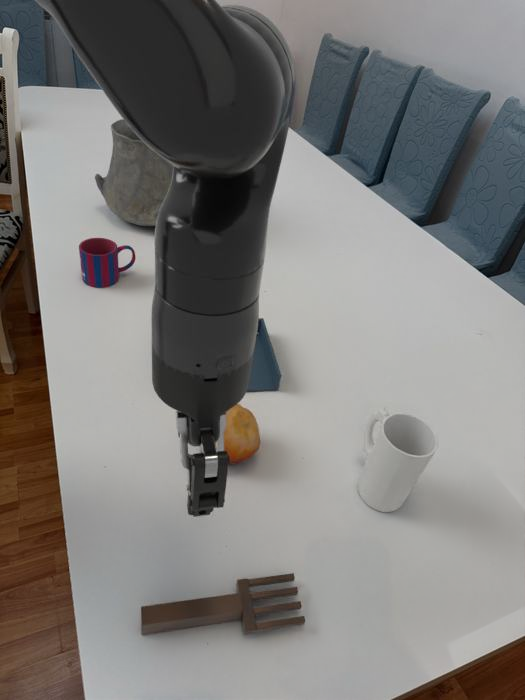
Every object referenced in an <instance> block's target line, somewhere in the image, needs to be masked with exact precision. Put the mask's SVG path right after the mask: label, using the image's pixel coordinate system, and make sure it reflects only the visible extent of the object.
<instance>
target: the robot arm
mask: <svg viewBox="0 0 525 700" xmlns="http://www.w3.org/2000/svg"><path fill="white" fill-rule="evenodd" d="M34 1H35V2H36V3H37V4H38V5H39V6H40V7H41V8H42V9H44V10H45V11H46V12H47V13H48V14H49V15H50V16H51V17H52V18H53V19H54V20H55V22H56V23H57V25H58V26H59V28H60V29H61V32H62V33H63V34H64V36H65V38H66V39H67V41H68V42H69V44H70V46H71V48H72V49H73V51H74V52H75V54H76V55H77V57H78V58H79V60H80V61H81V62H82V64H83V65H84V67H85V68H86V69H87V71H88V72H89V74H90V75H91V76H92V78H93V80H94V81H95V82H96V84H97V85H98V86H99V88H100V89H101V91H102V92H103V93H104V95H105V96H106V98H107V99H108V100H109V102H110V103H111V105H112V106H113V107H114V109H115V111H117V113H118V114H119V115H120V117H121V119H124V120H125V122H126V123H127V124H128V126H129V127H130V128H131V129H132V130H133V131H134V132H135V134H136V135H137V136H138V137H139V138H140V139H141V140H142V141H143V142H144V143H145V144H146V145H147V146H148V147H149V148H150V149H152V150H153V151H154V152H155V153H156V154H158V155H159V156H160V157H161V158H163V159H164V160H166V161H167V162H168V163H170V164H171V165H173V174H172V180H171V184H170V187H169V190H168V192H167V194H166V196H165V198H164V200H163V202H162V204H161V207H160V209H159V212H158V216H157V221H156V226H154V227H155V228H154V290H153V296H152V302H151V317H150V318H151V319H150V321H151V322H150V323H151V324H150V325H151V327H150V328H151V382H152V387H153V390H154V392H155V394H156V395H157V396H158V398H159V399H160V400H161V401H162V402H163V403H164V404H165V405H167V406H168V407H170V408H171V409H172V410H175V426H176V430H177V435H178V438H179V448H180V449H179V452H180V462H181V465H182V467H183V468H184V469H185V470H186V472H187V484H186V492H187V501H186V508H187V514H188V515H189V516H192V517H193V518H195V517H196V518H197V517H203V516H210V515H211V513H212V512H214V509H215V508H216V509H219V508H220V509H221V508H224V507H225V506H224V505H225V502H226V499H225V496H226V489H227V488H226V487H227V479H228V472H229V463H228V462H230V458H229V455H228V453H227V451H224V430H225V429H226V426H227V422H226V412H227V411H228V410H229V409H231V408H232V407H234V406H235V405H236V404H240V402H241V401H242V400H243V398H244V397H245V396H246V394H247V393H248V392H247V389H248V385H249V378H250V372H251V366H252V359H253V353H254V347H255V341H256V335H257V329H258V321H259V318H260V290H261V285H262V284H261V283H262V278H263V270H264V263H265V259H266V253H267V251H266V250H267V238H268V225H269V219H270V217H269V216H270V211H271V210H270V209H271V205H272V200H273V198H274V197H273V196H274V194H275V189H276V185H277V181H278V176H279V172H280V168H281V164H282V160H283V156H284V152H285V147H286V142H287V139H288V138H287V137H288V134H289V128H290V124H291V119H292V112H293V107H294V101H295V96H296V95H295V94H296V70H295V69H296V68H295V63H294V58H293V54H292V52H291V49H290V47H289V45H288V42H287V40H286V38H285V37H284V35H283V33H282V32H281V31H280V30H279V28H278V27H277V26H276V24H274V22H273V21H271V20H270V19H269V18H268V17H267V16H266V15H264V14H262V13H261V12H259V11H258V10H255V9H253V8H250V7H247V6H244V5H238V4H226V5H220V4H219V3H218V1H216V0H34ZM215 442H216V447H215ZM189 446H191V447H195V448H196V447H200V452H196V453H192V454H190V453H189Z"/></svg>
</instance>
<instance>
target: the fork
mask: <svg viewBox="0 0 525 700" xmlns="http://www.w3.org/2000/svg"><path fill="white" fill-rule="evenodd" d="M295 580H296V577H295V573H294V572H291V573H285V574H284V573H283V574H277V575H269V576H262V577H255V578H254V577H253V578H240V579H236V583H235V587H236V592H235V593H229V594H221V595H216V596H215V595H214V596H207V597H200V598H194V599H193V598H192V599H187V600H177V601H172V602H164V603H157V604H150V605H143V606H140V625H141V626H140V629H141V636H146V635H151V634H158V633H167V632H171V631H179V630H184V629H191V628H199V627H205V626H211V625H218V624H224V623H225V624H226V623H231V622H236V621H241V625H242V631H243V635H244V636H248V635H253V634H256V633H259V632H265V631H273V630H278V629H279V630H280V629H284V628H290V627H297V626H304V625H305V624H306V617H305V615H300V616H299V615H298V616H294V617H287V618H281V619H274V620H268V621H261V622H256V618H255V617H261V616H267V615H274V614H280V613H281V614H282V613H286V612H293V611H299V610H301V609H302V608H303V605H302V602H301V600H297V601H290V602H285V603H278V604H269V605H263V606H255V607H254V605H253V602H259V601H264V600H266V601H267V600H273V599H281V598H287V597H294V596H298V594H299V589H298V586H294V587H293V586H292V587H286V588H278V589H272V590H263V591H256V592H251V588H255V587H262V586H269V585H277V584H284V583H291V582H294V581H295Z"/></svg>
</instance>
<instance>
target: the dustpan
mask: <svg viewBox="0 0 525 700" xmlns="http://www.w3.org/2000/svg"><path fill="white" fill-rule="evenodd" d="M281 379H282V372H281V369H280V366H279V363H278V360H277V357H276V353H275V351H274V347H273V345H272V341H271V338H270V335H269V332H268V329H267V325H266V323H265V319H264V318H262V317H259V321H258V329H257V335H256V341H255V347H254V353H253V359H252V366H251V372H250V378H249V385H248V389H247V392H246V393H252V392H253V393H254V392H255V393H256V392H278V391H279V388H280V383H281Z"/></svg>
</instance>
